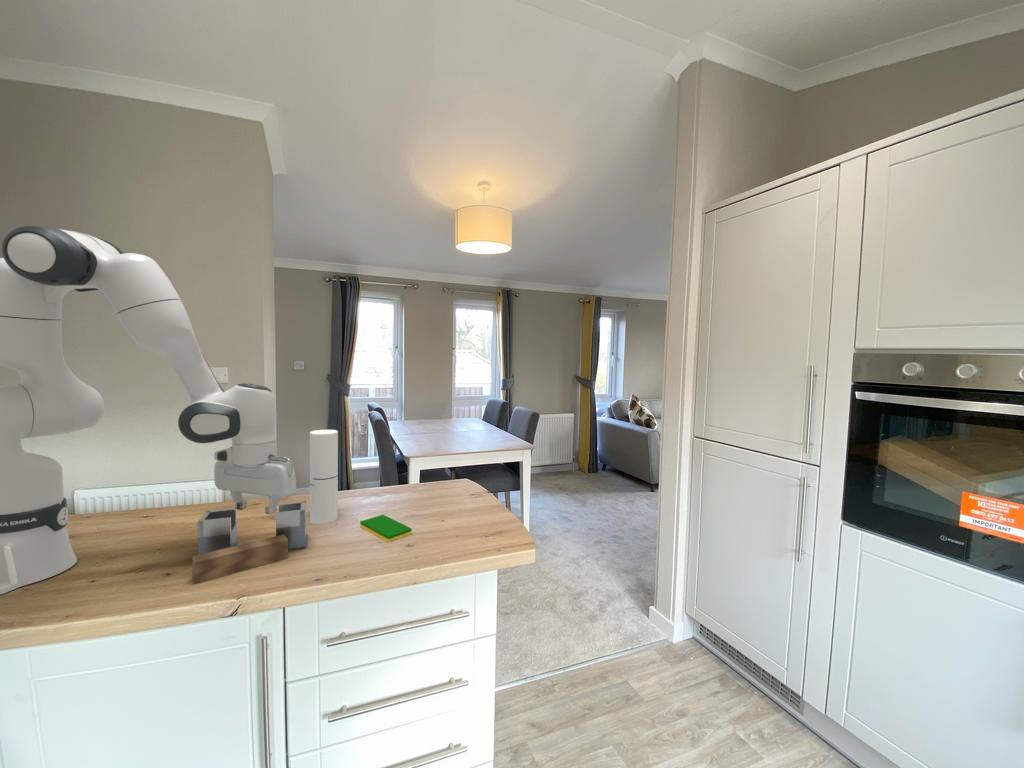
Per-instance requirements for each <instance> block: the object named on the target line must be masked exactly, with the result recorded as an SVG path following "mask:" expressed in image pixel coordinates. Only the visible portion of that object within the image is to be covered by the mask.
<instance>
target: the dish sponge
mask: <svg viewBox="0 0 1024 768" xmlns="http://www.w3.org/2000/svg"><path fill="white" fill-rule="evenodd" d="M359 523H360V524H359V525H360V526H359V527H360V529H362V530H364V531H366V532H368V533H370V534H371V535H373V536H375V537H377V538H378V539H380V540H383V541H384V542H387V543H391V542H394V541H397V540H400V539H403V538H405V537H408V536H410V535H412V528H411V527H410V526H408V525H406V524H403V523H402V522H399V521H397V520H395V519H393V518H392V517H389V516H387V515H385V514H380V515H377V516H374V517H371V518H368V519H364V520H360V522H359Z"/></svg>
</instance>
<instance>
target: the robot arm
mask: <svg viewBox="0 0 1024 768" xmlns="http://www.w3.org/2000/svg"><path fill="white" fill-rule="evenodd" d="M1 253H2V257H0V367H3V368H6V369H10V370H11V371H16V372H17V374H18V375H19V379H20V380H19V383H16V384H7V385H3V384H0V595H4V594H6V593H8V592H11V591H13V590H14V591H15V590H16V589H19V588H20V587H24V586H27V585H30V584H33V583H37V582H41V581H43V580H46V579H49V578H52V577H54V576H56V575H59V574H61V573H64V572H65V571H67V570H68V569H70V568H72V567H73V566H74V565H75V564H76V563H77V562H78V557H77V556H76V554H75V552H74V549H73V546H72V545H71V541H70V538H69V537H70V536H69V533H68V527H67V525H68V521H69V520H68V519H69V510H68V503H67V501H68V500H67V498H66V497H65V496H64V475H63V467H62V465H61V464H60V462H58V460H56V459H55V458H52V457H50V456H45V455H41V454H39V453H38V454H37V453H34V452H33V453H32V452H27V451H25V450H24V449H23V447H22V440H24V439H29V438H39V437H47V436H55V435H64V434H70V433H73V432H78V431H81V430H85V429H88V428H91V427H94V426H96V425H97V424H98V422H100V420H101V419H102V418H103V416H104V413H105V409H106V407H105V405H106V404H105V401H104V398H103V396H102V395H101V394H100V392H99V391H98V390H97V389H96V388H95V387H93V386H91V385H89V384H87V383H85V382H84V381H82V380H81V379H80V378H79V377H77V376H76V375H75V374H74V372H73V371H72V370H71V369H70V367H69V366H68V363H67V361H66V359H65V355H64V351H63V350H64V349H63V335H62V334H63V333H62V332H63V329H62V327H63V324H62V323H63V322H62V321H63V320H62V318H63V316H62V315H63V313H62V311H63V308H62V307H63V300H64V298H65V296H66V295H67V294H68V293H69V292H70V291H73V290H74V291H76V292H80V293H84V292H90V291H100V292H101V293H103V294H104V296H106V298H107V299H108V301H109V302H110V305H111V306H112V308H113V310H114V312H115V314H116V316H117V318H118V320H119V321H120V323H121V325H122V326H123V328H124V330H125V332H127V334H128V335H129V336H130V338H132V340H133V341H134V342H135V343H136V344H137V345H138V346H139V347H141V348H143V349H145V350H147V351H148V352H151V353H153V354H154V355H156V356H158V357H160V358H161V359H162V360H164V361H165V362H166V363H167V364H169V365H170V366H171V368H172V369H173V370H174V372H175V374H176V375H177V377H178V378H179V380H180V382H181V383H182V385H183V387H184V388H185V390H186V391H187V394H188V396H189V398H190V400H191V403H190V404H189V405H188V406H186V407H185V408H184V409H183V410H182V411H181V413H180V414H179V417H178V420H177V421H178V422H177V423H178V429H179V431H180V433H181V434H182V436H183V437H184V438H186V439H187V440H189V441H190V442H193V443H196V444H211V443H216V442H219V441H226V440H228V439H231V441H232V443H231V444H232V445H231V446H230V447H227V448H223V449H220V450H217V451H215V452H214V454H213V455H214V456H213V457H214V460H215V461H216V462H215V464H214V471H213V472H214V474H213V475H214V477H213V480H214V486H215V487H216V489H218V490H220V491H227V492H230V496H231V499H232V501H233V502H234V508H235V509H236V511H237V510H239V511H243V510H245V509H247V508H248V507H247V500H244V498H243V494H249V495H258V496H264V497H268V501H270V502H269V504H268V505H266V506H265V507H264V508H265V509H264V510H265V515H274V514H276V512H277V505H279V504H278V503H280V500H281V499H286V498H288V497H290V496H292V495H294V494H295V493H296V491H297V479H296V473H295V472H296V471H295V468H294V463H293V461H292V460H291V459H289V457H288V456H285V455H284V456H283V455H282V456H281V455H278V452H277V451H278V449H277V448H278V444H277V443H278V442H277V441H278V440H277V435H276V428H275V427H276V424H277V403H276V399H275V398H276V397H275V394H274V392H273V391H272V390H271V389H270V388H268V387H267V386H264V385H260V384H255V383H243V382H242V383H237V384H235V385H234V386H233V387H231V388H229V389H226V390H224V389H223V388H222V386H221V385H220V384H219V382H218V380H217V378H216V376H215V375H214V373H213V370H212V369H211V367H210V365H209V364H208V362H207V360H206V358H205V356H204V355H203V353H202V350H201V348H200V345H199V342H198V340H197V337H196V335H195V332H194V329H193V326H192V322H191V320H190V317H189V315H188V312H187V310H186V307H185V305H184V303H183V300H182V299H181V297H180V295H179V294H178V292H177V290H176V289H175V287H174V285H173V284H172V282H171V280H170V279H169V277H168V276H167V274H166V273H165V272H164V271H163V269H162V268H161V267H160V265H159V264H158V263H157V262H156V261H155V260H154V259H153V258H151V257H150V256H147V255H145V254H140V253H133V252H127V253H125V252H124V251H123V250H122V249H121V248H119V247H118V246H117V245H115V244H113V243H111V242H110V241H108V240H106V239H103V238H99V237H96V236H92V235H89V234H86V233H83V232H80V231H75V230H68V229H67V230H66V229H62V228H56V227H53V226H49V225H37V224H36V225H25V226H21V227H16V228H15V229H13V230H11V231H10V232H9V233H8V234H6V236H5V237H4V238H3V241H2V244H1Z"/></svg>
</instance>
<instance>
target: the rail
mask: <svg viewBox="0 0 1024 768" xmlns="http://www.w3.org/2000/svg"><path fill="white" fill-rule="evenodd" d="M249 542H250V543H246V544H242V545H237V546H233V547H229V548H225V549H221V550H216V551H212V552H208V553H204V554H200V555H198V554H197V555H192V580H193V584H194V585H196V584H201V583H203V582H208V581H212V580H214V579H219V578H222V577H226V576H229V575H233V574H236V573H237V574H238V573H240V572H244V571H247V570H250V569H251V570H252V569H255V568H258V567H261V566H265V565H268V564H269V565H270V564H272V563H276V562H280V561H284V560H286V559H288V558H289V551H288V539H287V538H286V536H285V535H279V536H276V535H275V536H271V537H267V538H262V539H260V540H254V542H253V541H249Z"/></svg>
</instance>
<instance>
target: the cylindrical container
mask: <svg viewBox="0 0 1024 768" xmlns="http://www.w3.org/2000/svg"><path fill="white" fill-rule="evenodd" d="M338 519H339V431H338V430H337V429H319V430H318V429H317V430H312V431H310V432H309V522H310V524H312V525H326V524H331V523H334V522H336V521H337V520H338Z"/></svg>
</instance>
